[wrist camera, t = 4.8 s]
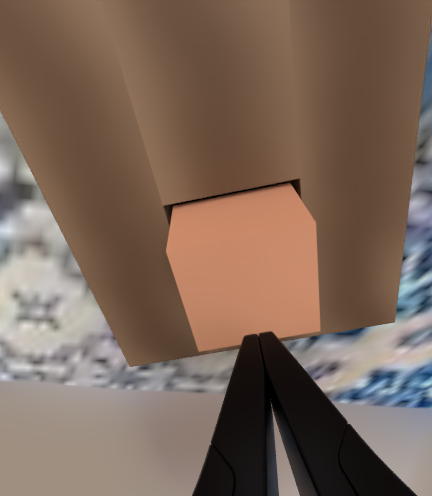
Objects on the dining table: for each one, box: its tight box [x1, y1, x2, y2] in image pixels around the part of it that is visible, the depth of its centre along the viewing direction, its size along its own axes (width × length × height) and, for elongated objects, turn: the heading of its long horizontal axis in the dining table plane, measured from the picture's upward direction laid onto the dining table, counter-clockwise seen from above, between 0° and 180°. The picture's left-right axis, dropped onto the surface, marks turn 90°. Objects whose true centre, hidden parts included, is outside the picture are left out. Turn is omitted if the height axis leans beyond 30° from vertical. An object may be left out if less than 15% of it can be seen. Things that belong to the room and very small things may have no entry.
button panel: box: [0, 0, 432, 367], centre depth 13 cm, size 14×24×4 cm, turn 11°
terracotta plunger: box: [166, 183, 320, 352], centre depth 13 cm, size 5×5×4 cm
